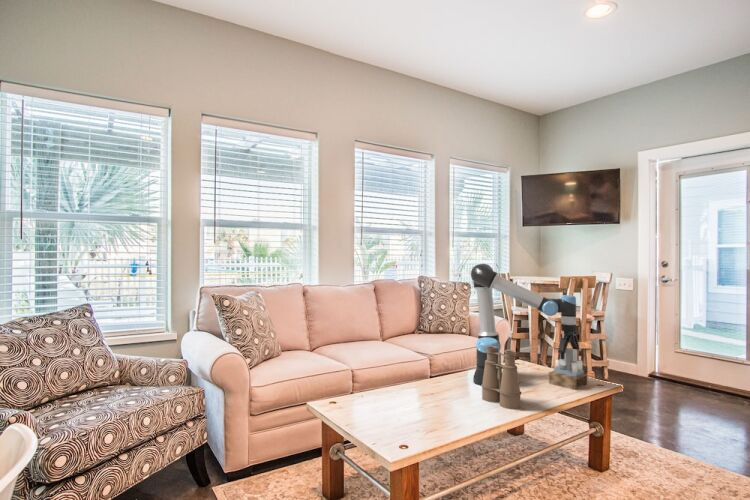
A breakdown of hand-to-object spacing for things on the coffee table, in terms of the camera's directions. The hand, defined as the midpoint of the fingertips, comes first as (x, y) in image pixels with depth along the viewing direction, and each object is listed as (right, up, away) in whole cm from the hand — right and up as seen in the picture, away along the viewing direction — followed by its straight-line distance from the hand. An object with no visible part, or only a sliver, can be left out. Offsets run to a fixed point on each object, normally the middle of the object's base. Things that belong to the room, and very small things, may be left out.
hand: (568, 363), depth 227 cm
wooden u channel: (-1, -11, -1) cm, 11 cm away
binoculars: (-46, -11, -30) cm, 56 cm away
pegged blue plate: (0, -5, 0) cm, 5 cm away
